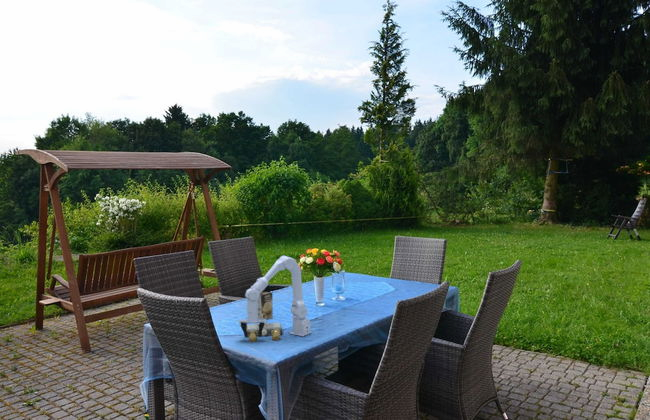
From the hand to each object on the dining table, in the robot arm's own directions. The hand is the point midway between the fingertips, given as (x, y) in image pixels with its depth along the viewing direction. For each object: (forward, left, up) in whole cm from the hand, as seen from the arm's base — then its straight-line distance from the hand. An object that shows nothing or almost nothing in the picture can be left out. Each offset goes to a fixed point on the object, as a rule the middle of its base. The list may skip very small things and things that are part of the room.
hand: (253, 336), depth 251 cm
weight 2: (-9, -9, -2) cm, 12 cm away
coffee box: (+26, -36, -2) cm, 44 cm away
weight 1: (0, 0, -2) cm, 2 cm away
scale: (+6, -14, -2) cm, 15 cm away
